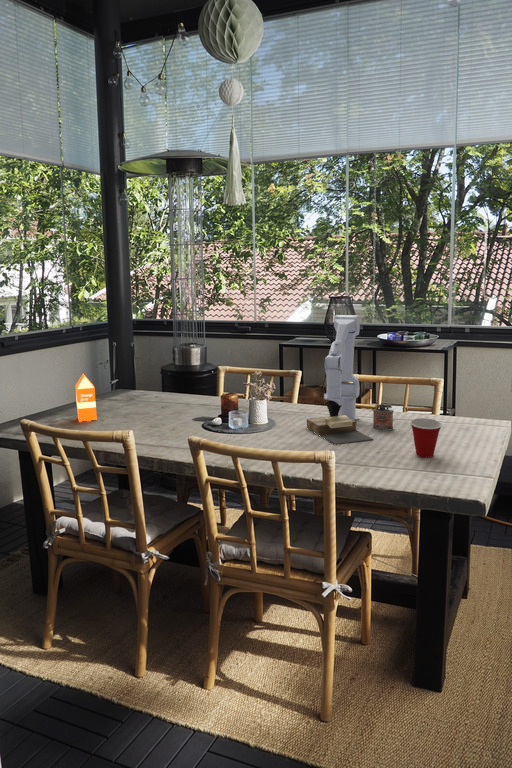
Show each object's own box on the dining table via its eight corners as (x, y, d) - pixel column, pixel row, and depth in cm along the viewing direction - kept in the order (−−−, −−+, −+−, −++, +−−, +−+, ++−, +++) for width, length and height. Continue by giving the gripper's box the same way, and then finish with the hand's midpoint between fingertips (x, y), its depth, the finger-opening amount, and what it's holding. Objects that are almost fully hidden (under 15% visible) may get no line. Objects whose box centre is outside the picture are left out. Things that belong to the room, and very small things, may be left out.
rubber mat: (319, 435, 259) (319, 434, 259) (356, 431, 264) (356, 430, 264) (334, 444, 246) (334, 443, 246) (373, 440, 251) (373, 438, 251)
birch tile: (324, 422, 261) (324, 417, 261) (345, 419, 264) (345, 415, 263) (331, 428, 256) (331, 423, 255) (352, 425, 259) (352, 421, 258)
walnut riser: (306, 428, 270) (306, 418, 269) (342, 424, 275) (342, 414, 274) (319, 435, 259) (318, 425, 258) (356, 431, 264) (356, 421, 263)
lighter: (372, 428, 267) (372, 404, 265) (373, 426, 270) (373, 402, 268) (392, 429, 265) (392, 405, 263) (393, 427, 268) (394, 403, 266)
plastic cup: (422, 461, 224) (423, 427, 221) (402, 453, 233) (403, 420, 231) (448, 457, 228) (449, 423, 225) (428, 449, 238) (429, 416, 235)
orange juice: (95, 416, 300) (92, 372, 296) (97, 420, 291) (94, 375, 287) (77, 417, 297) (74, 373, 293) (78, 422, 289) (75, 376, 285)
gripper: (316, 383, 266) (317, 416, 269) (332, 390, 253) (332, 424, 255) (333, 382, 268) (333, 414, 271) (349, 388, 255) (349, 422, 257)
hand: (333, 419), depth 263 cm, fingers closed
